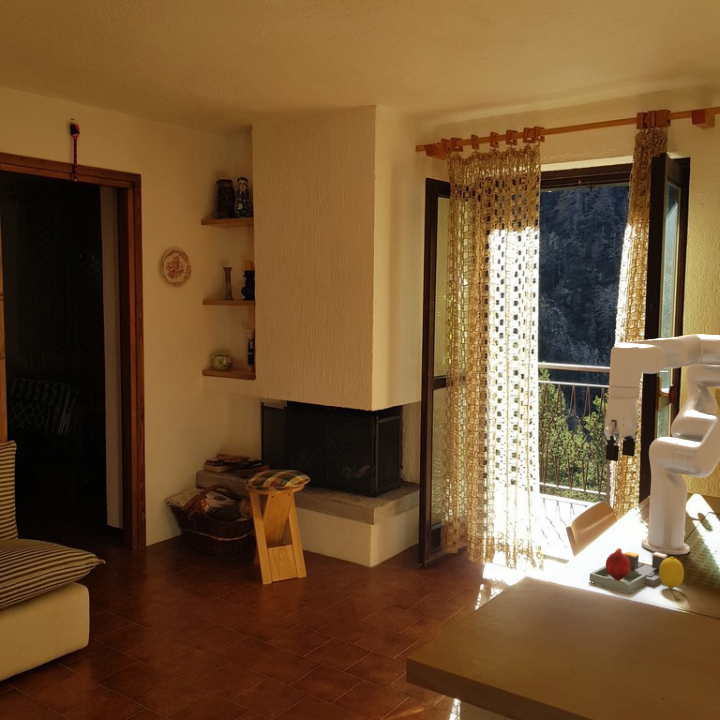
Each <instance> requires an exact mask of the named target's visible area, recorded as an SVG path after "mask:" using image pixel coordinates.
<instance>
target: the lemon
mask: <svg viewBox="0 0 720 720" xmlns="http://www.w3.org/2000/svg"><path fill="white" fill-rule="evenodd" d="M684 570H685V569H684V566H683V564H682V562H681V561H680V560H678V559H677V558H675V557H674V556H673V555H672V556H670V557H667V558H666V559H664V560H663V561H662V563H661V565H660V568H659V577H660V580H661V581H662V585H664V586H666V587H667V588H668V590H672V589H674V588H677V587H679V586H680V585H681V584H682V583H683V581H684V577H685V576H684V575H685V571H684Z"/></svg>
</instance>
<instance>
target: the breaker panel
mask: <svg viewBox="0 0 720 720" xmlns="http://www.w3.org/2000/svg"><path fill="white" fill-rule="evenodd" d="M630 570H631V571H634V572H638V573H641V574H645V575H646V579H645V585H647V586H651V587H655V586H657V585H658V584H660V583H661V582H662V581H661V580H660V577H659V569H655V568H652V563H650V562H645V561H641V560H638V569H636V570H632V569H630Z"/></svg>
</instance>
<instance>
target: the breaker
mask: <svg viewBox="0 0 720 720" xmlns="http://www.w3.org/2000/svg"><path fill="white" fill-rule="evenodd" d="M666 558H668V554H663V553H658V552H653V553H652V559H651V562H652V563H651V564H652V568H655V569H659V568H660V565H661V563H662V561H663V560H664V559H666Z"/></svg>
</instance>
